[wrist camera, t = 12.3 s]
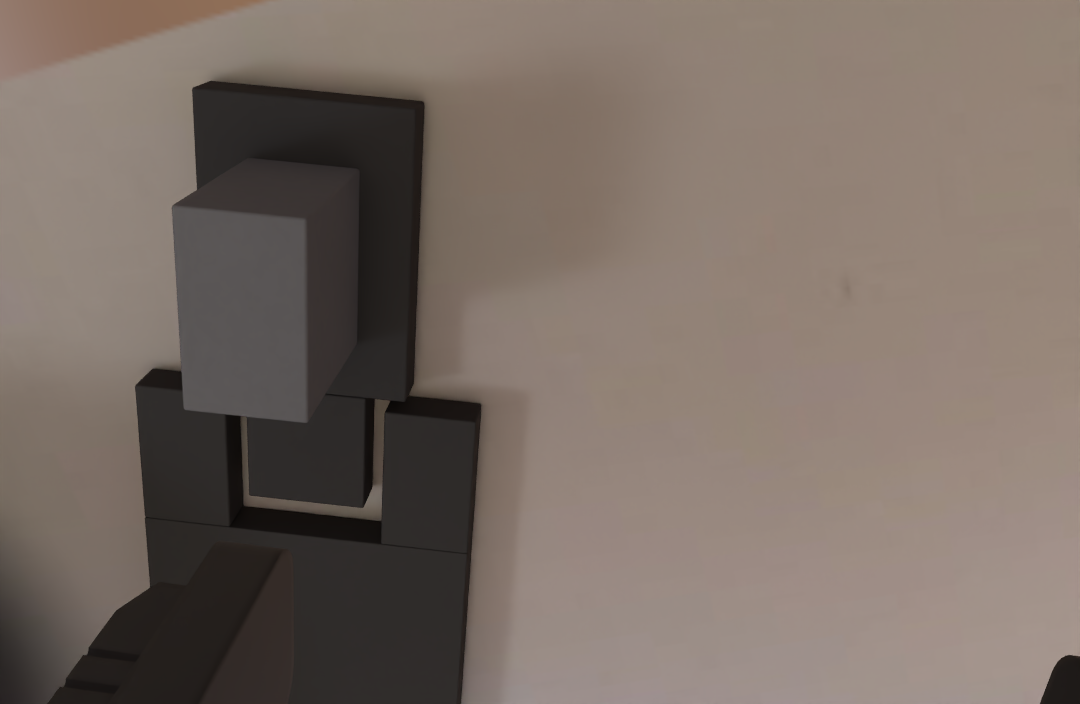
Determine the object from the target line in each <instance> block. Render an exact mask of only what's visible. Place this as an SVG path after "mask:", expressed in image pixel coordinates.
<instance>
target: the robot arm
mask: <svg viewBox="0 0 1080 704" xmlns="http://www.w3.org/2000/svg"><path fill="white" fill-rule="evenodd" d="M293 668H294V570H293V558H292V554H291V552H290V551H289V550H288V549H281V548H274V547H266V546H259V545H251V544H243V543H236V542H228V541H218V542H216V543H215V544H214V545H213V546H212V548H211V549H210V551H209V552H208V554H207V555H206V557H205V558H204V560H203V561H202V563H201V564H200V566H199V567H198V569H197V570H196V572H195V573H194V575H193V576H192V578H191V579H190V581H189V582H188V584H187V585H178V584H171V583H163V582H158V583H156V584H155V585H154V586H152V587H151V588H149V589H148V590H146V591H145V592H143V593H142V594H140V595H139V596H137V597H136V598H134V599H133V600H131V601H130V602H128V603H127V604H125V605H124V606H122V607H121V608H119V609H118V610H116V612H115V613H114V614H113V616H112V617H111V618H110V620H109V621H108V622H107V624H106V625H105V626H104V628H103V629H102V630H101V632H100V633H99V635H98V636H97V637H96V639H95V640H94V641H93V643H92V644H91V645H90V647H89V651H88V654H87V656H86V655H83V656H82V658H81V659H80V660H79V662H78V663H77V664H76V666H75V667H74V668H73V670H72V671H71V673H70V674H69V675H68V677H67V678H66V683H65V686H64V687H59V689H58V690H57V691H56V693H55V694H54V696H53V697H52V698H51V700H50V701H49V702H48V704H288V700H289V696H290V691H291V685H292V678H293ZM1040 704H1080V656H1073V655H1068V656H1065V657H1063V658H1061V659H1060V660H1059V661H1058V662H1057V664H1056V665H1055V667H1054V669H1053V671H1052V674H1051V676H1050V679H1049V681H1048V684H1047V687H1046V689H1045V692H1044V695H1043V697H1042V700H1041V702H1040Z"/></svg>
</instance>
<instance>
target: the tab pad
mask: <svg viewBox="0 0 1080 704" xmlns="http://www.w3.org/2000/svg"><path fill="white" fill-rule="evenodd" d="M192 93H193V114H194V135H195V156H196V176H197V190H196V191H195V192H193V193H192V194H190V195H188V196H187V197H185V198H184V199H182V200H180V201H179V202H177V203H176V204H174V205H173V206H172V216H173V233H174V251H175V268H176V285H177V302H178V319H179V336H180V353H181V371H182V388H183V405H184V409H185V410H190V411H199V412H208V413H217V414H227V415H236V416H245V417H247V436H248V468H249V494H250V495H251V496H260V497H269V498H278V499H287V500H296V501H305V502H314V503H323V504H332V505H341V506H350V507H359V508H363V507H364V505H365V503H366V500H367V498H368V496H369V494H370V491H371V489H372V480H373V435H374V399H382V400H391V401H400V402H405V401H406V399H407V397H408V395H409V393H410V391H411V388H412V386H413V384H414V358H415V332H416V306H417V280H418V254H419V228H420V202H421V176H422V150H423V124H424V103H423V102H422V101H413V100H402V99H392V98H382V97H371V96H361V95H351V94H340V93H330V92H319V91H309V90H299V89H288V88H278V87H268V86H257V85H247V84H237V83H226V82H216V81H209V82H207V83H204V84H201V85H199V86H196V87H194V88H193V89H192Z"/></svg>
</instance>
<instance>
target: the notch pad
mask: <svg viewBox="0 0 1080 704" xmlns="http://www.w3.org/2000/svg"><path fill="white" fill-rule="evenodd" d="M135 390H136V403H137V416H138V429H139V442H140V455H141V468H142V481H143V494H144V507H145V516H146V517H145V524H146V537H147V550H148V563H149V576H150V588H151V587H152V586H154V585H155V584H156V583H158V582H163V583H171V584H178V585H187V584H188V582H189V581H190V579H191V578H192V576H193V575H194V573H195V572H196V570H197V569H198V567H199V566H200V564H201V563H202V561H203V560H204V558H205V557H206V555H207V554H208V552H209V551H210V549H211V548H212V546H213V545H214V544H215V543H216V542H218V541H228V542H236V543H243V544H251V545H259V546H266V547H274V548H281V549H288V550H289V551H290V552H291V554H292V558H293V570H294V668H293V678H292V685H291V691H290V696H289V700H288V704H461V693H462V679H463V664H464V650H465V635H466V621H467V606H468V592H469V578H470V563H471V549H472V532H473V519H474V505H475V490H476V476H477V461H478V447H479V433H480V418H481V405H480V404H474V403H464V402H455V401H446V400H437V399H427V398H418V397H409V396H408V397H407V399H406V401H405V402H400V401H390V403H389V405H388V408H387V410H386V412H385V422H384V457H383V492H382V522H376V521H367V520H358V519H349V518H340V517H331V516H322V515H313V514H304V513H295V512H286V511H277V510H268V509H260V508H251V507H242V506H243V494H242V463H241V433H240V416H236V415H227V414H217V413H208V412H199V411H190V410H185V409H184V405H183V388H182V372H177V371H167V370H158V369H152V370H151V371H150V372H149V373H148V374H147V375H146V376H145V377H144V378H143V379H142V380H141V381H139V382H138V383H137V384H136V386H135Z"/></svg>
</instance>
